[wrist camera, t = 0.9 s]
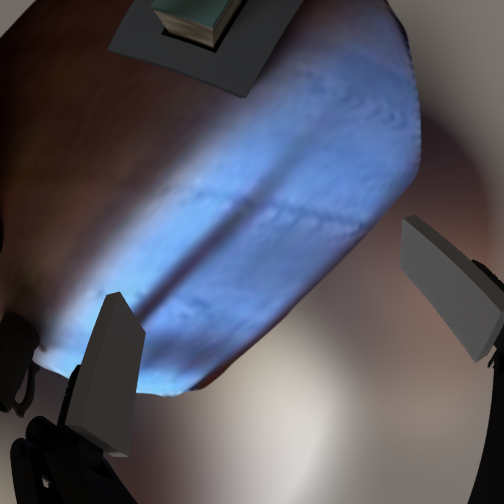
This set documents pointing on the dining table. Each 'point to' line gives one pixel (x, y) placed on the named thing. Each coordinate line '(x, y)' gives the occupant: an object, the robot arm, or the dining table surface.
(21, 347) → the beer stein
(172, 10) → the teal and tan block
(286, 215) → the dining table surface
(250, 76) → the block
